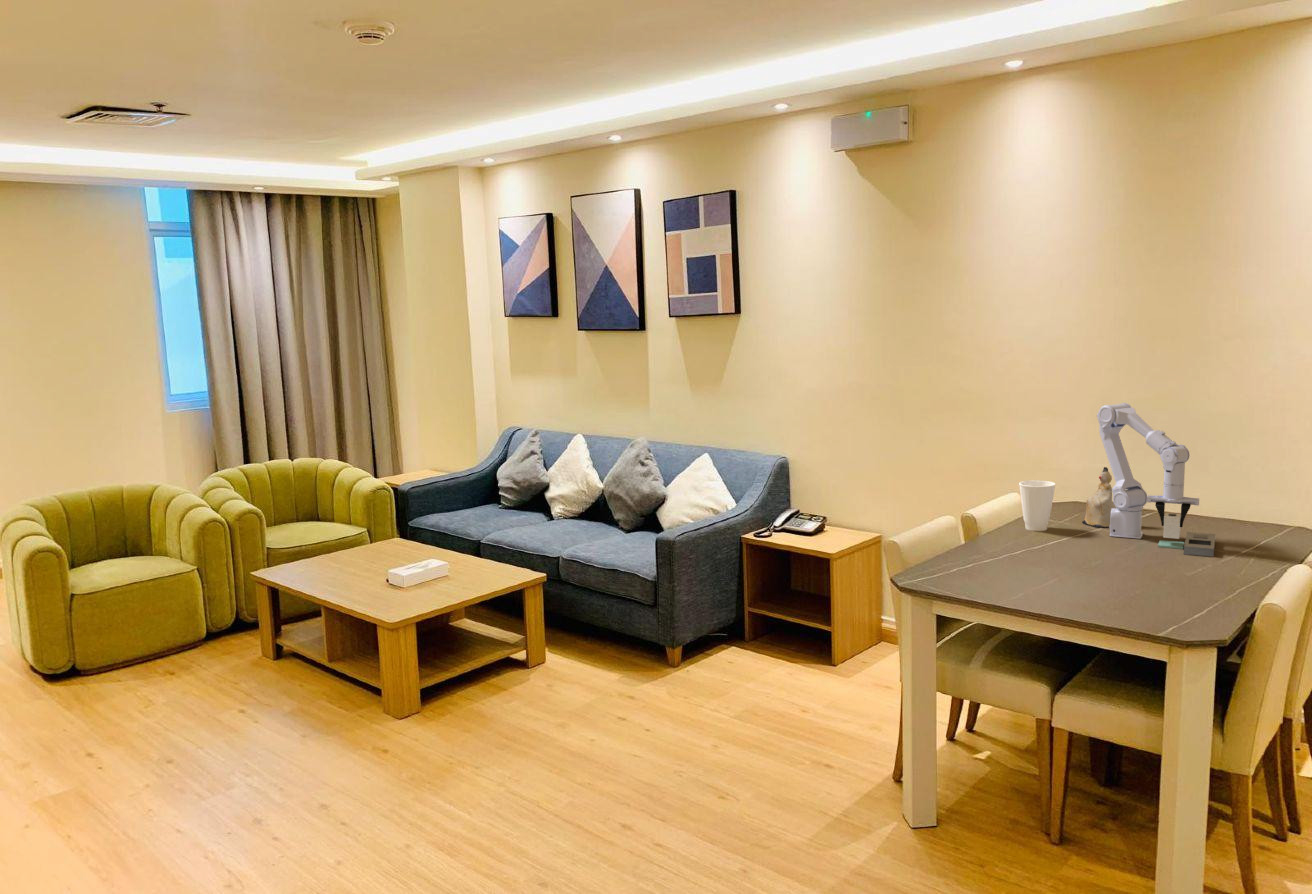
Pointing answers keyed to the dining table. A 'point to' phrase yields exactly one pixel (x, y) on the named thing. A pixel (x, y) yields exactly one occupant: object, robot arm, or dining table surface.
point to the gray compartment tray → (1199, 544)
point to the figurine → (1100, 503)
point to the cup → (1036, 503)
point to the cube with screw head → (1171, 525)
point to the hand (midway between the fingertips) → (1172, 525)
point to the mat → (1171, 544)
